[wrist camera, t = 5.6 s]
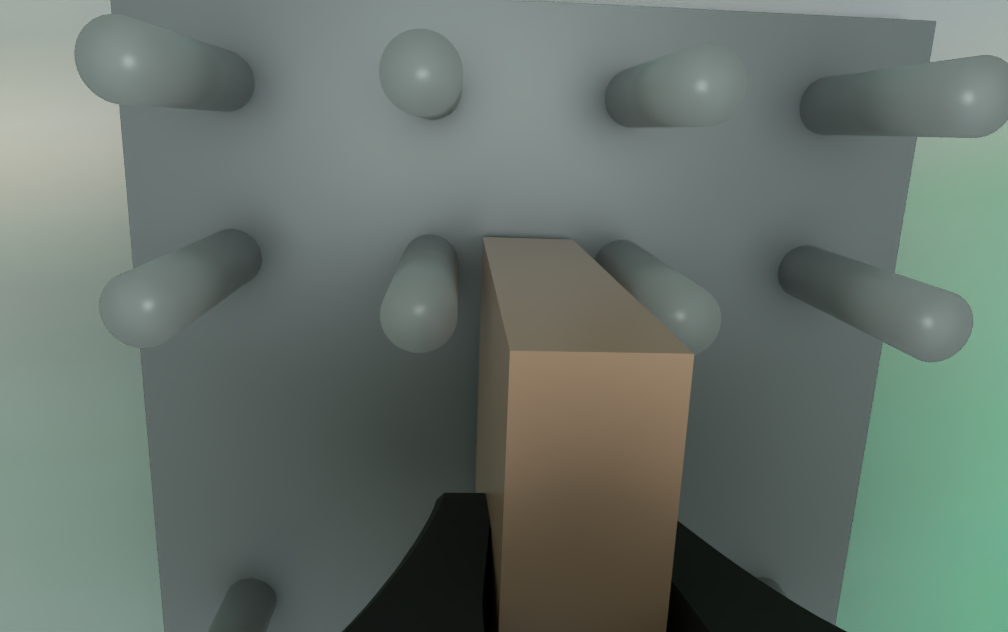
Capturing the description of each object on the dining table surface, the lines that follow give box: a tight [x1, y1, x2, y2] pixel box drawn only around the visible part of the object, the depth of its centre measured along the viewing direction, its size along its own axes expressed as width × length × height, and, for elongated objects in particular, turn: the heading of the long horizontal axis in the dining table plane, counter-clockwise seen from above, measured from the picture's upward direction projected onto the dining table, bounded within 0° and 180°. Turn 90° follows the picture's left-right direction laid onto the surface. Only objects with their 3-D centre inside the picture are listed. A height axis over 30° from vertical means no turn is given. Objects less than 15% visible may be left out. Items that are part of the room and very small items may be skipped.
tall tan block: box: [475, 237, 694, 632], centre depth 11 cm, size 8×2×7 cm, turn 178°
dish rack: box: [75, 0, 1008, 632], centre depth 13 cm, size 16×14×5 cm
